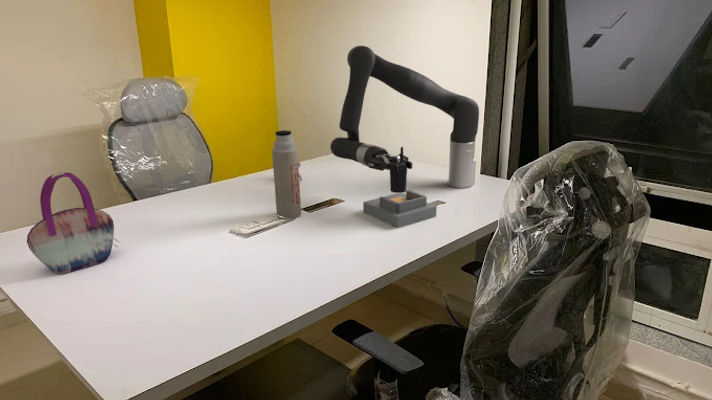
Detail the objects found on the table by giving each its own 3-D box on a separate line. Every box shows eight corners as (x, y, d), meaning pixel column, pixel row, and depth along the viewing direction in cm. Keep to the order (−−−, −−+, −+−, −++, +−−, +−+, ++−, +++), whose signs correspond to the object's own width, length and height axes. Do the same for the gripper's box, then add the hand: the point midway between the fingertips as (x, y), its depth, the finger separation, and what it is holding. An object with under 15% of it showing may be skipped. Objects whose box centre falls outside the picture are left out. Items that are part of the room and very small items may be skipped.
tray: (400, 201, 179) (400, 184, 177) (436, 216, 165) (436, 197, 163) (363, 211, 171) (363, 193, 169) (398, 227, 157) (398, 207, 155)
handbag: (115, 245, 148) (99, 162, 140) (127, 256, 141) (111, 169, 133) (31, 269, 135) (8, 178, 127) (39, 282, 128) (15, 186, 120)
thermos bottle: (306, 213, 170) (301, 130, 161) (289, 221, 164) (283, 134, 155) (288, 209, 175) (283, 127, 166) (271, 216, 169) (265, 132, 160)
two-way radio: (406, 189, 168) (406, 145, 162) (407, 194, 164) (408, 149, 158) (389, 190, 168) (389, 146, 162) (390, 195, 164) (390, 149, 158)
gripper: (354, 148, 169) (387, 159, 156) (388, 142, 176) (422, 152, 163) (355, 170, 171) (386, 182, 158) (388, 163, 179) (421, 174, 166)
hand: (404, 167), depth 161 cm, fingers closed on two-way radio, 5 cm apart
